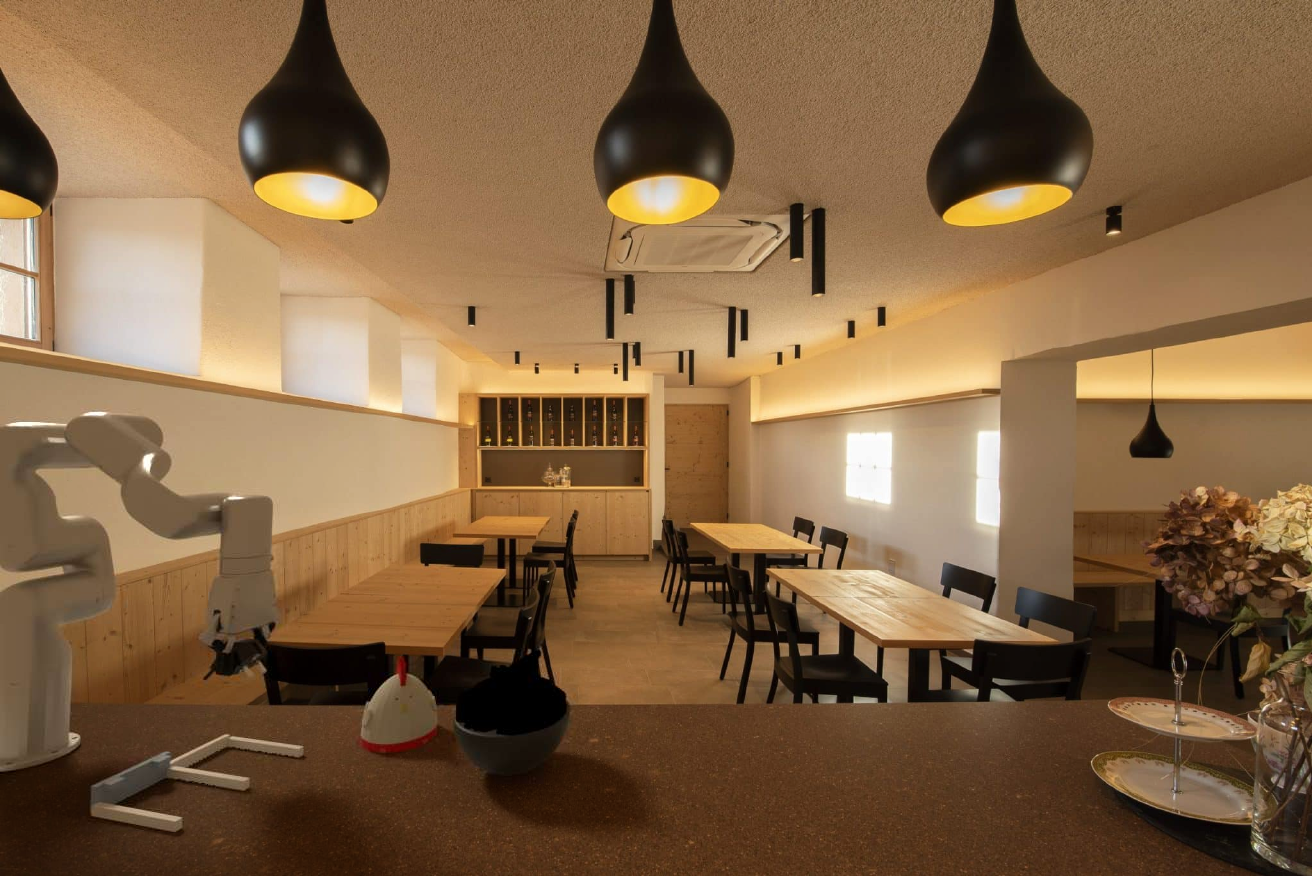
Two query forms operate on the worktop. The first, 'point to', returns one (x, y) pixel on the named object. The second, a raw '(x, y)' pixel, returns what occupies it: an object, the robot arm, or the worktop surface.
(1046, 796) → the worktop surface
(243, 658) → the power plug
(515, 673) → the coal bowl
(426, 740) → the kitchen timer
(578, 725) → the worktop surface
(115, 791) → the cable organizer
